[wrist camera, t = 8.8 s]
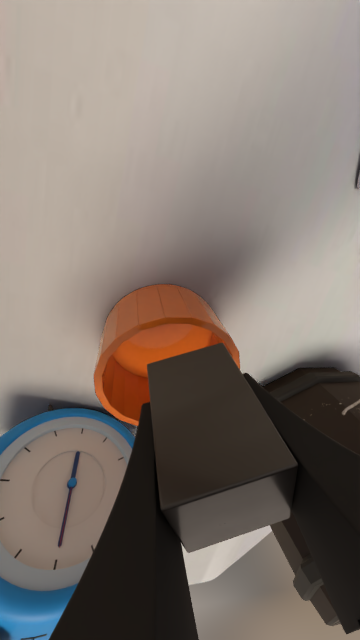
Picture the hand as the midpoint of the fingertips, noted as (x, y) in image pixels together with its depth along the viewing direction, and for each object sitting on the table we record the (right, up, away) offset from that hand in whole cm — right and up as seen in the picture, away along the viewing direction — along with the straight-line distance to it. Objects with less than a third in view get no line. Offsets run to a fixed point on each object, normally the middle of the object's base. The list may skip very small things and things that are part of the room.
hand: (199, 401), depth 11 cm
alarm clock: (-12, -7, +13) cm, 19 cm away
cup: (-3, +3, +9) cm, 10 cm away
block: (0, +1, +1) cm, 1 cm away
